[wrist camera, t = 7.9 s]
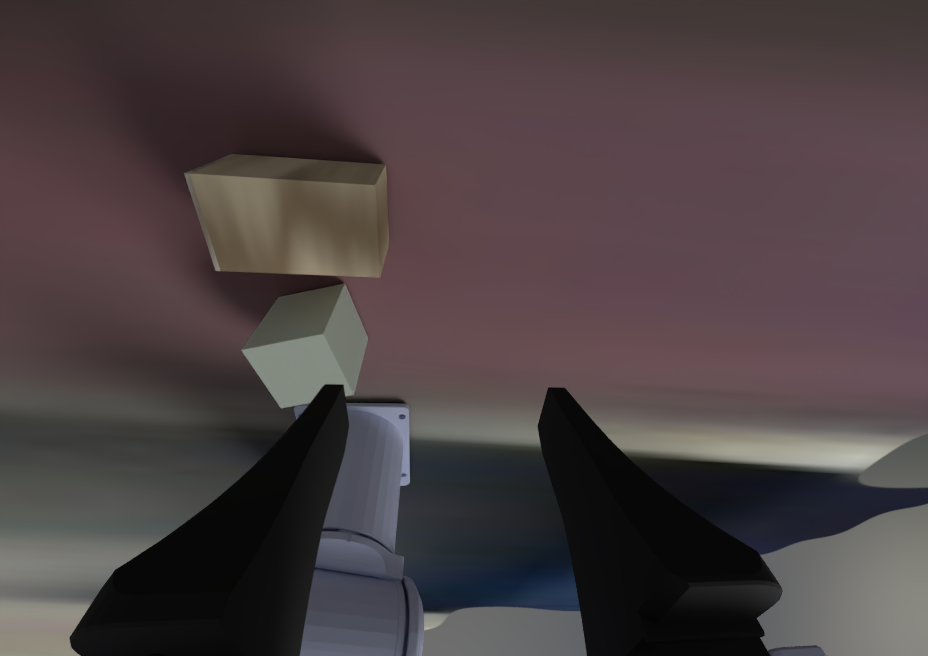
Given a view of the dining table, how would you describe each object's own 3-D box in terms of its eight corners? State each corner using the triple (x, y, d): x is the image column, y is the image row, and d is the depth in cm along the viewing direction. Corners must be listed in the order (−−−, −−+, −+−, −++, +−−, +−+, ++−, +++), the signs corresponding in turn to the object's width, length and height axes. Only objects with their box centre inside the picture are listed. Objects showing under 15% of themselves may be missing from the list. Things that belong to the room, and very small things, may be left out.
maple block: (252, 237, 19) (389, 243, 20) (215, 270, 16) (380, 277, 17) (231, 153, 17) (386, 164, 18) (184, 173, 14) (374, 185, 15)
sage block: (368, 338, 24) (353, 394, 20) (307, 350, 24) (280, 408, 20) (344, 283, 21) (322, 333, 17) (278, 297, 22) (241, 350, 17)
